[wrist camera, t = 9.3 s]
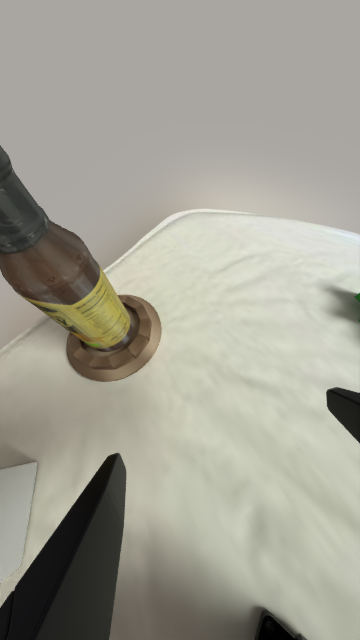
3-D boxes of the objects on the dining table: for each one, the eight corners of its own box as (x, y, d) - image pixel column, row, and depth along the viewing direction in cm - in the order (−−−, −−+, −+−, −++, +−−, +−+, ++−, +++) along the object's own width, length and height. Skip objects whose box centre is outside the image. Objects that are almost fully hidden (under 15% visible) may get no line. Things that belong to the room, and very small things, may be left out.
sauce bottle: (84, 329, 26) (-140, 135, 9) (123, 306, 27) (-1, 102, 10) (100, 365, 23) (-188, 180, 6) (144, 338, 24) (17, 125, 7)
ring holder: (118, 403, 21) (111, 401, 19) (50, 349, 25) (39, 343, 23) (179, 319, 26) (177, 311, 24) (113, 285, 30) (108, 277, 29)
